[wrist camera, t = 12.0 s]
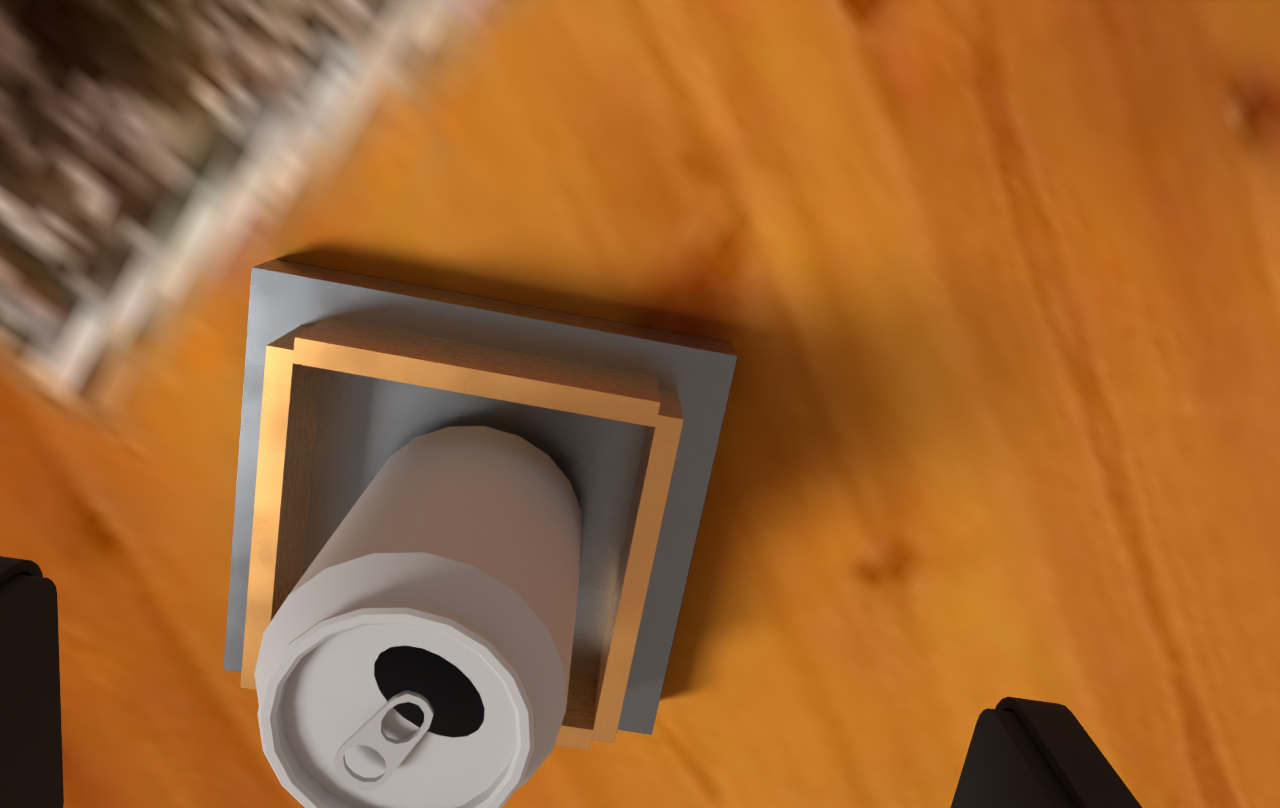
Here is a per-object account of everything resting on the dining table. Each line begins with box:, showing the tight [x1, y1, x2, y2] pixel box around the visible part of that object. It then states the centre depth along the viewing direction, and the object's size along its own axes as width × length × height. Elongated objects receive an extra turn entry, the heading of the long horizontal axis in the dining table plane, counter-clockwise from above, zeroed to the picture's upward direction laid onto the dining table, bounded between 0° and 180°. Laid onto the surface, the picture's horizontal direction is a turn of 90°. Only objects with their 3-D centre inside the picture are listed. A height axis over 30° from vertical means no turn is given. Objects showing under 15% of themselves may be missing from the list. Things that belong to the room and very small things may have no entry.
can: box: [254, 426, 583, 808], centre depth 26 cm, size 8×8×12 cm
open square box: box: [224, 259, 737, 750], centre depth 31 cm, size 16×15×5 cm
